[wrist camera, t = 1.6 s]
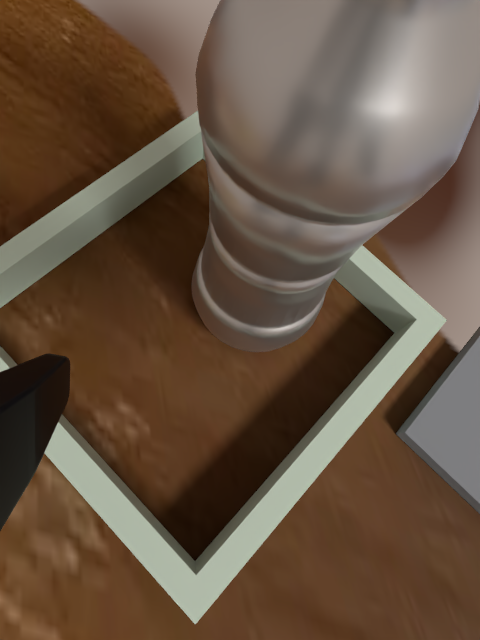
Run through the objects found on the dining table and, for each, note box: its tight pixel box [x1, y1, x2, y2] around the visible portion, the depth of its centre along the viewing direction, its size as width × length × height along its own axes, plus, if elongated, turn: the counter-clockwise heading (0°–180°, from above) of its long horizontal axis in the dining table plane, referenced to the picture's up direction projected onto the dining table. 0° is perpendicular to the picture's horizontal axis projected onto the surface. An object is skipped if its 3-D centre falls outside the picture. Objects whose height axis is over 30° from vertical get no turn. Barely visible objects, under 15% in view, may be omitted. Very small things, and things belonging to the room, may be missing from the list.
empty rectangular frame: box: [0, 111, 447, 624], centre depth 22 cm, size 18×18×2 cm
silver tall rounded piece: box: [191, 0, 480, 352], centre depth 14 cm, size 6×7×20 cm
